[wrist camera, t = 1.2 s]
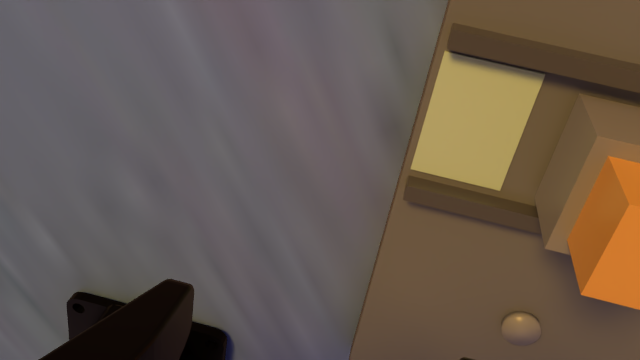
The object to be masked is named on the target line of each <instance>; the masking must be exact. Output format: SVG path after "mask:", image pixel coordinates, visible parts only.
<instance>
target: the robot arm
mask: <svg viewBox="0 0 640 360" xmlns="http://www.w3.org/2000/svg"><path fill="white" fill-rule="evenodd" d="M193 300H194V288H193V286H192V285H191V284H188V283H185V282H181V281H177V280H173V279H167V280H164V281H163V282H161V283H159V284H158V285H156V286H155V287H153V288H152V289H150V290H148V291H147V292H145V293H144V294H142V295H140V296H139V297H137V298H136V299H134V300H133V301H131V302H129V303H128V304H124V303H120V302H117V301H113V300H109V299H106V298H102V297H98V296H95V295H91V294H87V293H84V292H76V293H74V294H73V295H72V297H71V298H70V299H69V300H68V302H67V315H68V328H69V341H68V342H66V343H64V344H63V345H61V346H60V347H58V348H56V349H55V350H53V351H52V352H50V353H49V354H47V355H45V356H44V357H42V358H41V359H39V360H225V354H226V346H227V337H226V335H225V334H224V333H223V332H222V331H221V330H219V329H216V328H213V327H209V326H205V325H202V324H198V323H194V322H192V314H193ZM212 340H213V341H212ZM214 341H215V342H214ZM459 360H474V359H471V358H467V357H463V358H460V359H459Z"/></svg>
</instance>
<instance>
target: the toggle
mask: <svg viewBox="0 0 640 360" xmlns="http://www.w3.org/2000/svg"><path fill="white" fill-rule="evenodd" d="M535 202H536V207H537V212H538V217H539V222H540V228H541V233H542V238H543V243H544V248H545V249H548V250H552V251H556V252H560V253H564V254H568V255H571V258H572V262H573V266H574V270H575V274H576V278H577V282H578V286H579V290H580V294H581V295H583V296H587V297H591V298H595V299H599V300H603V301H607V302H611V303H615V304H619V305H623V306H627V307H631V308H634V309H638V310H640V107H636V106H632V105H627V104H623V103H619V102H614V101H610V100H606V99H601V98H597V97H593V96H588V95H584V94H580V93H579V95H578V98H577V100H576V102H575V105H574V107H573V109H572V112H571V114H570V116H569V119H568V121H567V123H566V125H565V128H564V130H563V132H562V135H561V137H560V139H559V142H558V144H557V146H556V149H555V151H554V153H553V156H552V158H551V160H550V163H549V165H548V167H547V170H546V172H545V174H544V176H543V179H542V181H541V183H540V186H539V188H538V190H537V193H536V195H535Z"/></svg>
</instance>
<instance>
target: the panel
mask: <svg viewBox="0 0 640 360" xmlns="http://www.w3.org/2000/svg"><path fill="white" fill-rule="evenodd" d="M579 93H580V94H584V95H588V96H593V97H597V98H601V99H606V100H610V101H614V102H619V103H623V104H627V105H632V106H636V107H640V0H448V4H447V8H446V11H445V15H444V18H443V22H442V25H441V29H440V32H439V36H438V40H437V43H436V47H435V50H434V54H433V57H432V61H431V65H430V68H429V72H428V75H427V79H426V82H425V86H424V90H423V93H422V97H421V100H420V104H419V107H418V111H417V115H416V118H415V122H414V125H413V129H412V132H411V136H410V139H409V143H408V147H407V150H406V154H405V157H404V161H403V164H402V168H401V172H400V175H399V179H398V182H397V186H396V189H395V193H394V197H393V200H392V204H391V207H390V211H389V214H388V218H387V222H386V225H385V229H384V232H383V236H382V239H381V243H380V247H379V250H378V254H377V257H376V261H375V264H374V268H373V271H372V275H371V279H370V282H369V286H368V289H367V293H366V296H365V300H364V304H363V307H362V311H361V314H360V318H359V321H358V325H357V329H356V332H355V336H354V339H353V343H352V346H351V351H350V356H349V360H459V359H460V358H463V357H467V358H471V359H474V360H640V310H638V309H634V308H631V307H627V306H623V305H619V304H615V303H611V302H607V301H603V300H599V299H595V298H591V297H587V296H583V295H581V294H580V290H579V286H578V282H577V278H576V274H575V270H574V266H573V262H572V258H571V255H568V254H564V253H560V252H556V251H552V250H548V249H545V248H544V243H543V238H542V233H541V228H540V222H539V217H538V212H537V207H536V202H535V195H536V193H537V190H538V188H539V186H540V183H541V181H542V179H543V176H544V174H545V172H546V170H547V167H548V165H549V163H550V160H551V158H552V156H553V153H554V151H555V149H556V146H557V144H558V142H559V139H560V137H561V135H562V132H563V130H564V128H565V125H566V123H567V121H568V119H569V116H570V114H571V112H572V109H573V107H574V105H575V102H576V100H577V98H578V95H579Z"/></svg>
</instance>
